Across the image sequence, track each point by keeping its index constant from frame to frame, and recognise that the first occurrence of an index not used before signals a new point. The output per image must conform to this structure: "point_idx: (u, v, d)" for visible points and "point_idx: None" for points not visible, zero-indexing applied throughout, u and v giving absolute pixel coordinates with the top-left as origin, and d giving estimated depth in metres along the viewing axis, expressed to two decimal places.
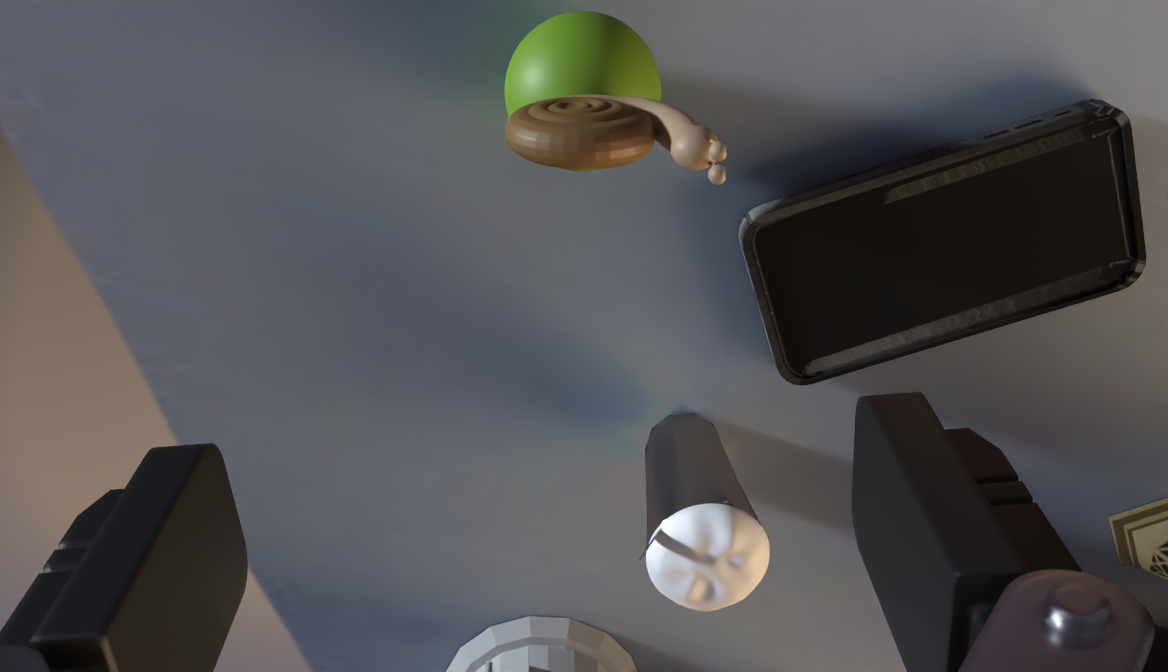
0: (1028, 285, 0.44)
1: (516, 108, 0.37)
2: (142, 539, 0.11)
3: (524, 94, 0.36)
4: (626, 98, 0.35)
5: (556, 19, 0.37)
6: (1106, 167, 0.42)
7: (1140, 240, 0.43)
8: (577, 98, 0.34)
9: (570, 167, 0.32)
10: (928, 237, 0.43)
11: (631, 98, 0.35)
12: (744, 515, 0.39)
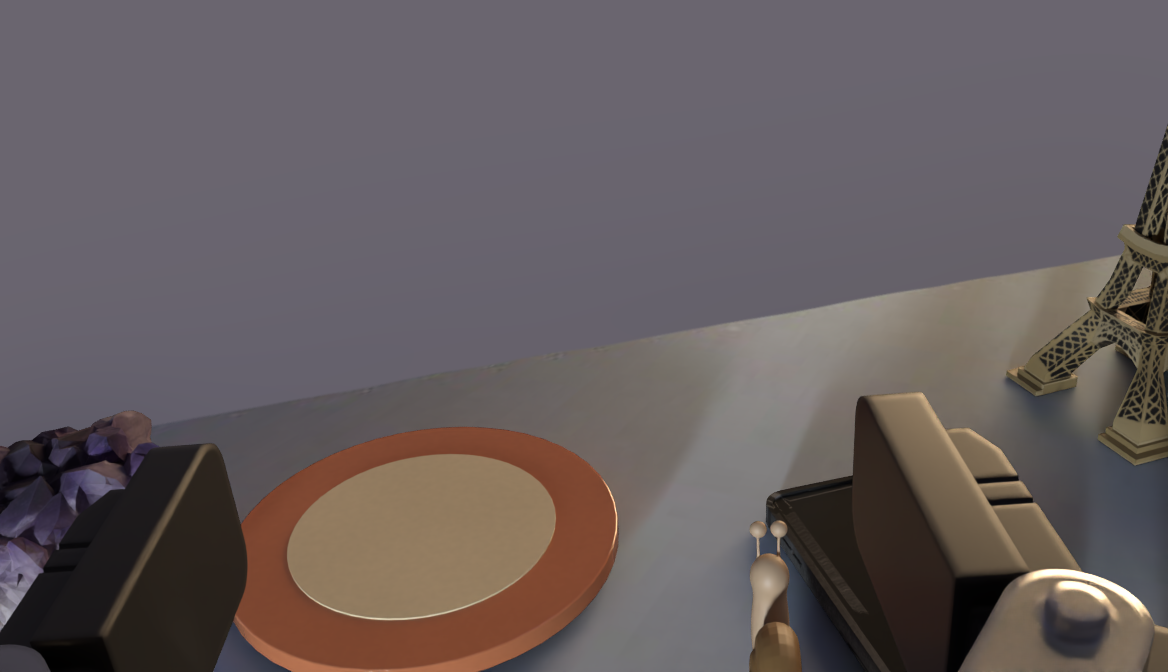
0: None
1: None
2: (142, 539, 0.11)
3: None
4: None
5: None
6: (814, 498, 0.54)
7: None
8: None
9: (797, 657, 0.32)
10: None
11: None
12: None
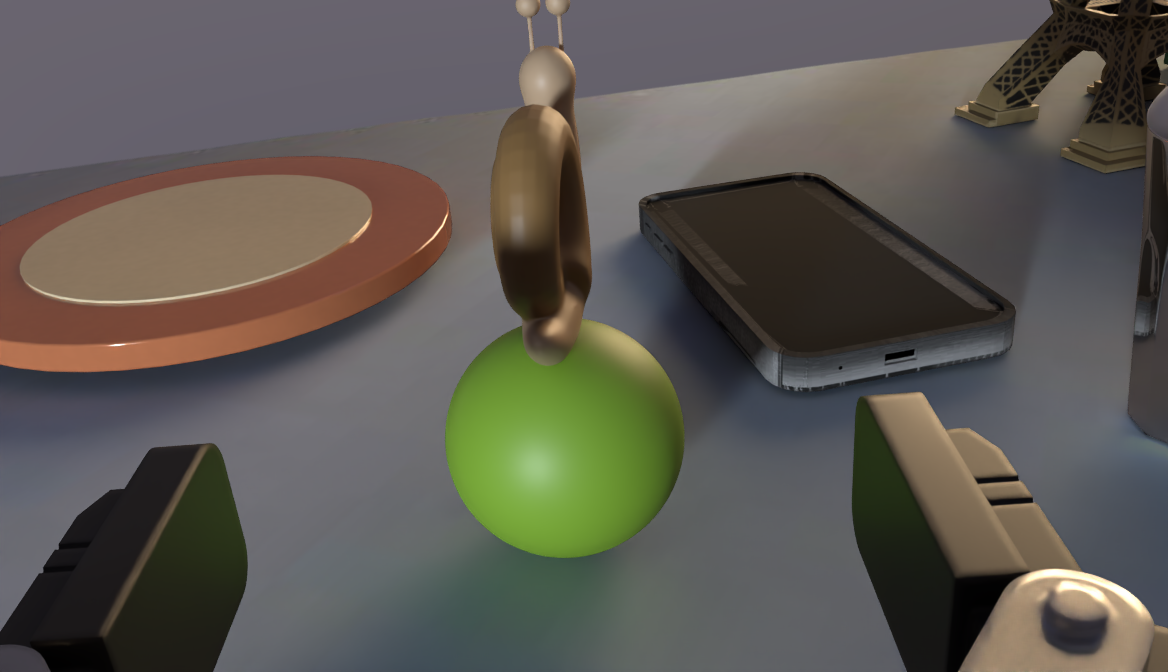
0: (831, 213, 0.41)
1: (558, 435, 0.22)
2: (142, 539, 0.11)
3: (531, 413, 0.22)
4: None
5: (446, 446, 0.24)
6: (699, 198, 0.43)
7: (771, 176, 0.44)
8: None
9: (556, 126, 0.21)
10: (784, 260, 0.37)
11: None
12: (1151, 106, 0.26)
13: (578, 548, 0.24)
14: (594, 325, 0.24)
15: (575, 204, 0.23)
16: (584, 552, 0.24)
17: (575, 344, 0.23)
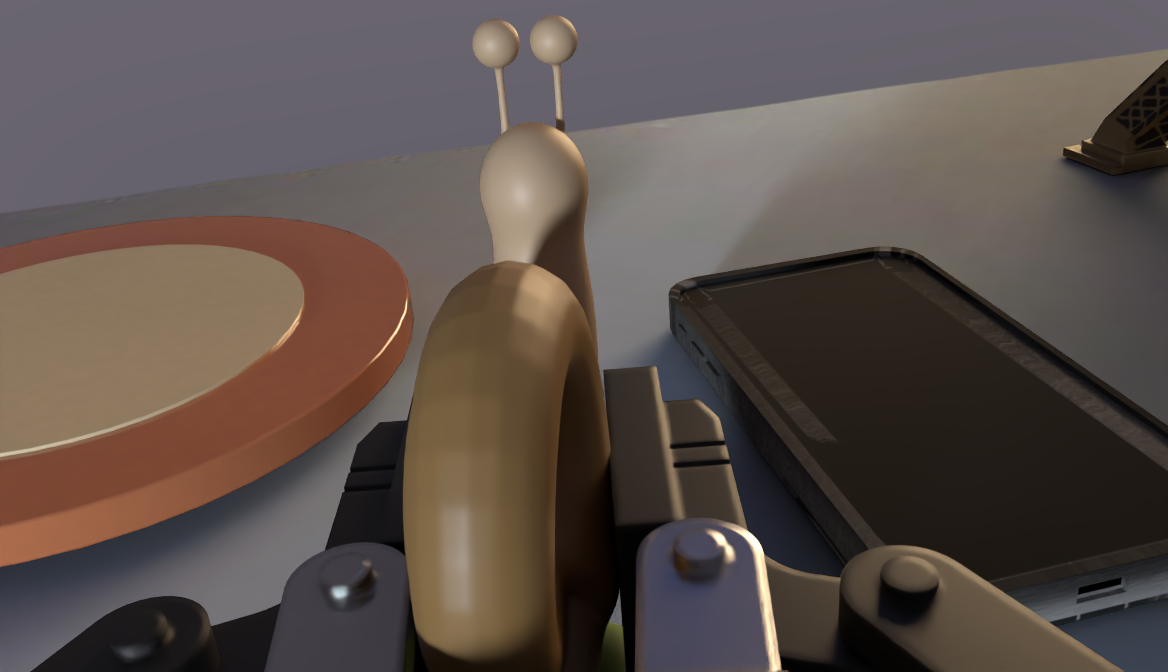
0: (940, 313, 0.29)
1: None
2: None
3: None
4: None
5: None
6: (752, 286, 0.31)
7: (847, 253, 0.33)
8: None
9: (549, 325, 0.10)
10: (887, 396, 0.25)
11: None
12: None
13: None
14: (623, 657, 0.13)
15: (588, 441, 0.12)
16: None
17: None
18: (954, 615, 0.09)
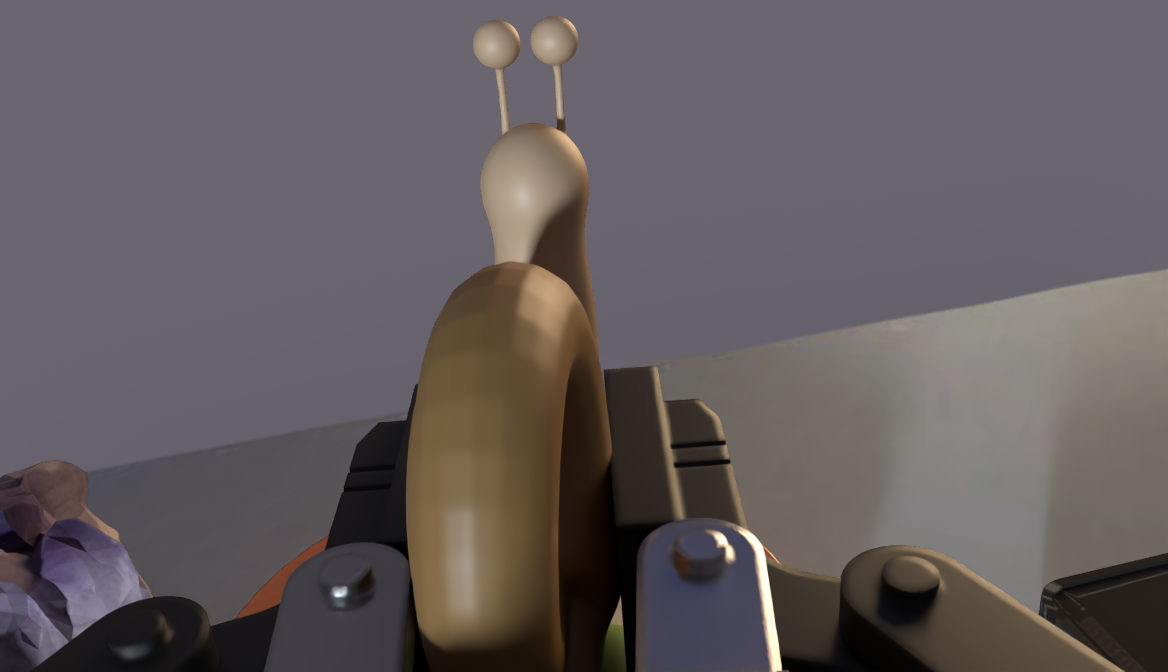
0: None
1: None
2: None
3: None
4: None
5: None
6: (1115, 593, 0.35)
7: None
8: None
9: (552, 326, 0.10)
10: None
11: None
12: None
13: None
14: (625, 658, 0.13)
15: (590, 442, 0.12)
16: None
17: None
18: (955, 615, 0.09)
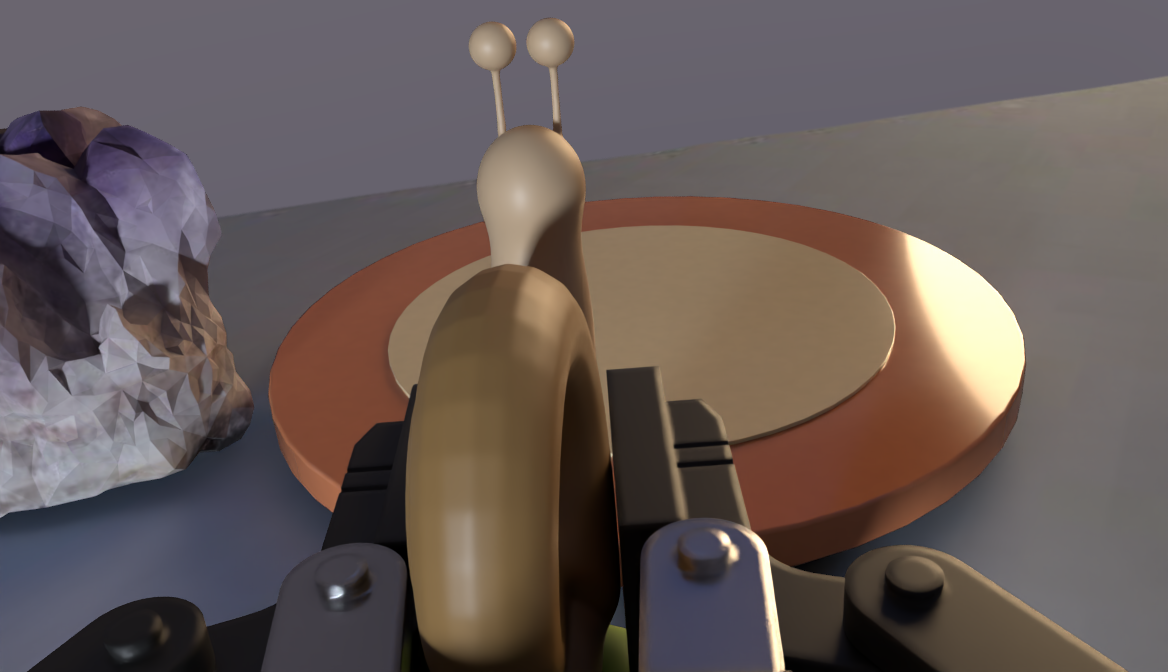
0: None
1: None
2: None
3: None
4: None
5: None
6: None
7: None
8: None
9: (551, 328, 0.10)
10: None
11: None
12: None
13: None
14: (624, 659, 0.13)
15: (588, 444, 0.12)
16: None
17: None
18: (959, 615, 0.09)
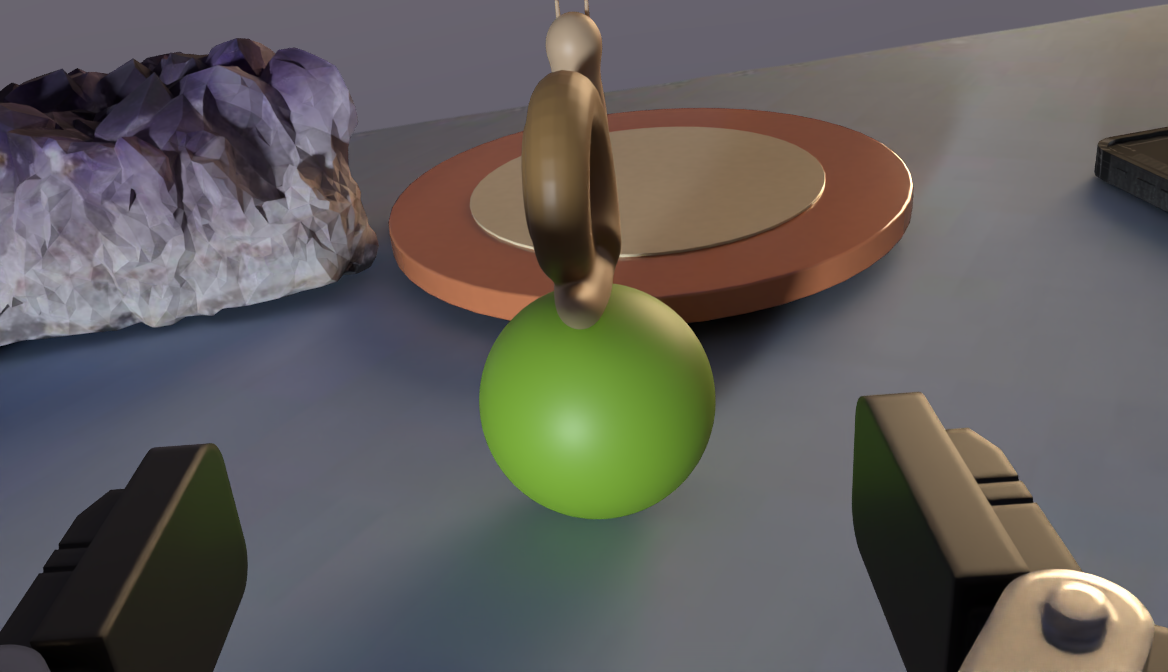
0: None
1: (591, 397, 0.23)
2: (142, 539, 0.11)
3: (564, 376, 0.23)
4: None
5: (481, 411, 0.25)
6: (1161, 141, 0.41)
7: None
8: None
9: (585, 91, 0.21)
10: None
11: None
12: None
13: (612, 509, 0.24)
14: (624, 289, 0.25)
15: (604, 169, 0.24)
16: (618, 513, 0.24)
17: (606, 308, 0.24)
18: None
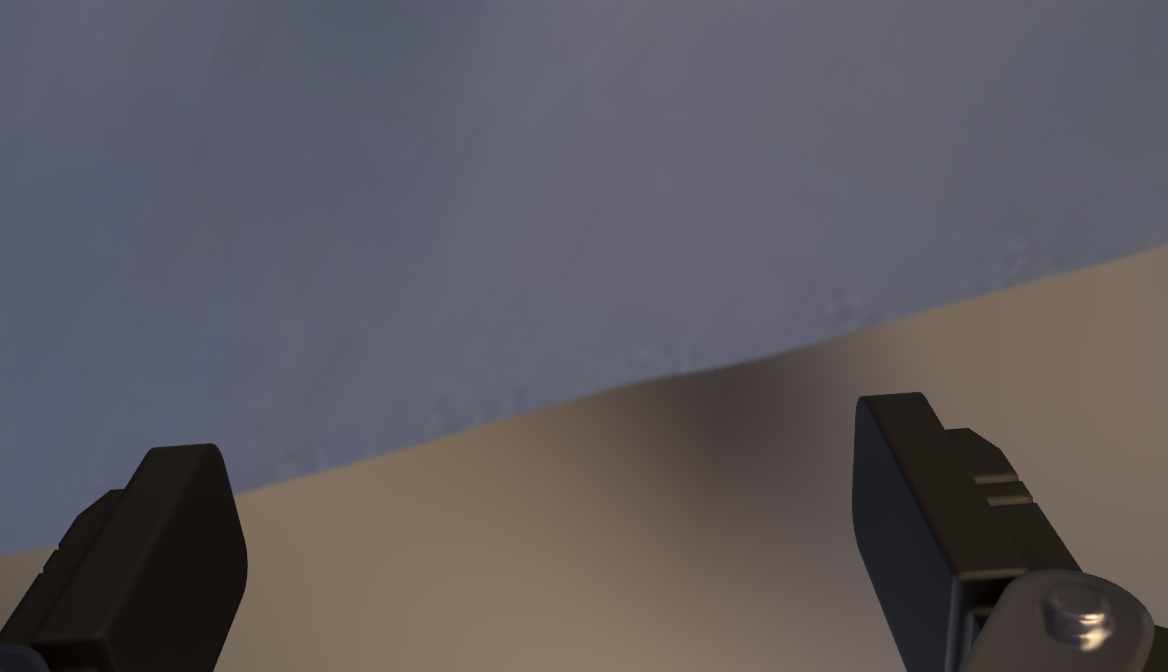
0: None
1: None
2: (142, 539, 0.11)
3: None
4: None
5: None
6: None
7: None
8: None
9: None
10: None
11: None
12: None
13: None
14: None
15: None
16: None
17: None
18: None
